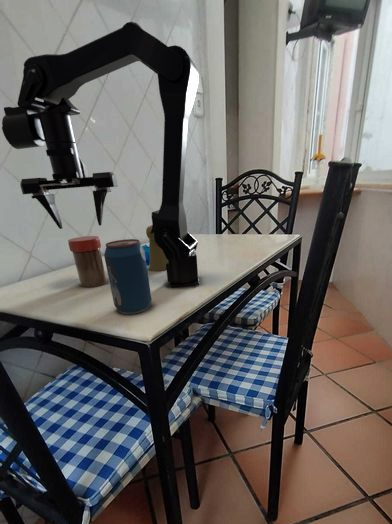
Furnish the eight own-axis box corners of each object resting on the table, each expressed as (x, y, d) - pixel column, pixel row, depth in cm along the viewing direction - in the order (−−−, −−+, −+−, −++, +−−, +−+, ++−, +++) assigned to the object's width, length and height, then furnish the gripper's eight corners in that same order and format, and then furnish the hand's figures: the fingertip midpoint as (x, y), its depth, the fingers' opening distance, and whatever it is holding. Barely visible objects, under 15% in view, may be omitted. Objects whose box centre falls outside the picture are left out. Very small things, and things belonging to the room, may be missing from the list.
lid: (103, 244, 75) (101, 234, 74) (97, 250, 69) (95, 239, 68) (75, 247, 75) (72, 237, 74) (66, 253, 69) (63, 242, 68)
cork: (168, 270, 82) (163, 226, 77) (146, 270, 83) (140, 227, 78) (174, 264, 87) (169, 222, 82) (153, 265, 89) (148, 223, 83)
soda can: (157, 302, 61) (148, 237, 55) (144, 315, 55) (133, 245, 49) (125, 301, 63) (113, 239, 57) (109, 314, 57) (94, 246, 51)
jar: (108, 278, 79) (100, 237, 74) (104, 286, 74) (94, 241, 69) (84, 280, 79) (74, 239, 74) (77, 288, 73) (66, 244, 69)
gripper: (114, 144, 70) (126, 219, 77) (30, 151, 69) (51, 226, 77) (105, 138, 60) (120, 225, 67) (7, 146, 59) (33, 232, 67)
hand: (80, 227), depth 70 cm, fingers open, 8 cm apart
